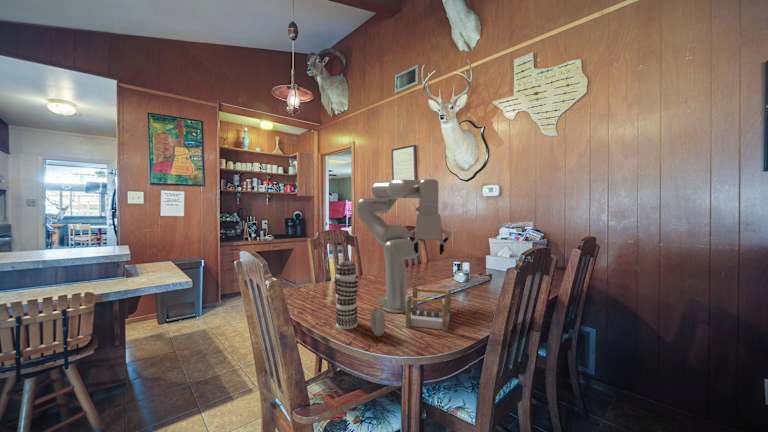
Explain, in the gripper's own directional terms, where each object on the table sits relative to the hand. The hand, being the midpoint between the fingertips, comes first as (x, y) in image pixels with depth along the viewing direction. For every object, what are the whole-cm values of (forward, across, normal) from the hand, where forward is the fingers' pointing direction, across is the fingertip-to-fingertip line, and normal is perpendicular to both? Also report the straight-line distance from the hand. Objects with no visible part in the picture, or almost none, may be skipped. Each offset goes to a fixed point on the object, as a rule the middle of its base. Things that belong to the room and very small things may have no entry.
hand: (428, 253), depth 122 cm
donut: (+28, -16, -17) cm, 37 cm away
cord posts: (+28, 0, 0) cm, 28 cm away
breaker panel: (+28, 0, 0) cm, 28 cm away
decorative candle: (+28, -31, -11) cm, 43 cm away
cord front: (+17, 0, -7) cm, 19 cm away
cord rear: (+17, 0, +6) cm, 19 cm away
